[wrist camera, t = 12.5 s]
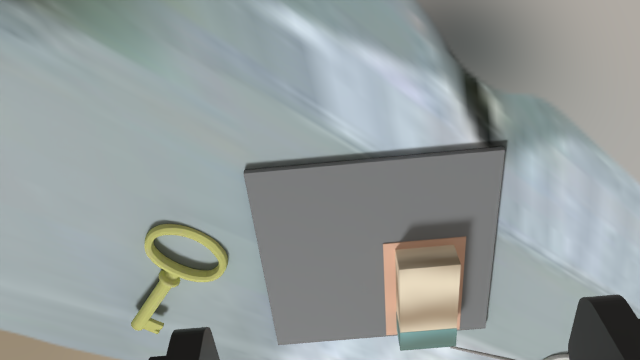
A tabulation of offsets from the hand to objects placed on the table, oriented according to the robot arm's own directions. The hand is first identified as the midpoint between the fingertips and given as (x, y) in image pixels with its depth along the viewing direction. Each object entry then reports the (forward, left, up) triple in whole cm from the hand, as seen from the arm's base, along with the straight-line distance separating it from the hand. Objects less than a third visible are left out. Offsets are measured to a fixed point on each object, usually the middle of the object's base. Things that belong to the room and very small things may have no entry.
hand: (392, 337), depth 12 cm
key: (-16, -23, -29) cm, 40 cm away
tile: (+6, -27, -28) cm, 39 cm away
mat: (+2, -23, -28) cm, 36 cm away
